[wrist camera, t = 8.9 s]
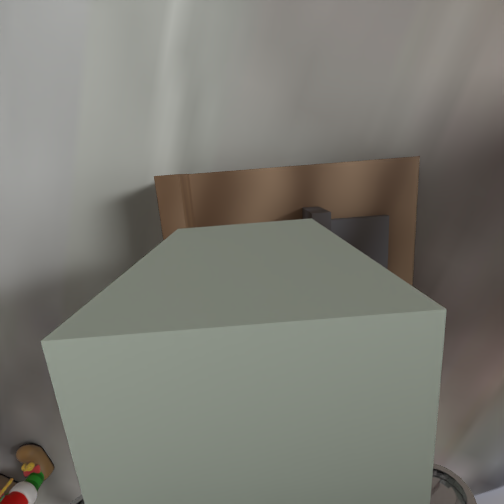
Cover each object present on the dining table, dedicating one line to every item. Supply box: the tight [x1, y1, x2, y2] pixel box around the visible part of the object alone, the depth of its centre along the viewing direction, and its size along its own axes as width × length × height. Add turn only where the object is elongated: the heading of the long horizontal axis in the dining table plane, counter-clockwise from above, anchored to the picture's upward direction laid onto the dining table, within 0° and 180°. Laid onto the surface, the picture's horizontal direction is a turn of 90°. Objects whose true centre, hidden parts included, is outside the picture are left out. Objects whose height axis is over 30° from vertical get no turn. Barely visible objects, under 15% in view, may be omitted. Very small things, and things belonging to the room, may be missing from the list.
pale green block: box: [41, 218, 447, 504], centre depth 9 cm, size 5×12×8 cm, turn 4°
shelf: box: [154, 156, 420, 286], centre depth 23 cm, size 18×16×5 cm
